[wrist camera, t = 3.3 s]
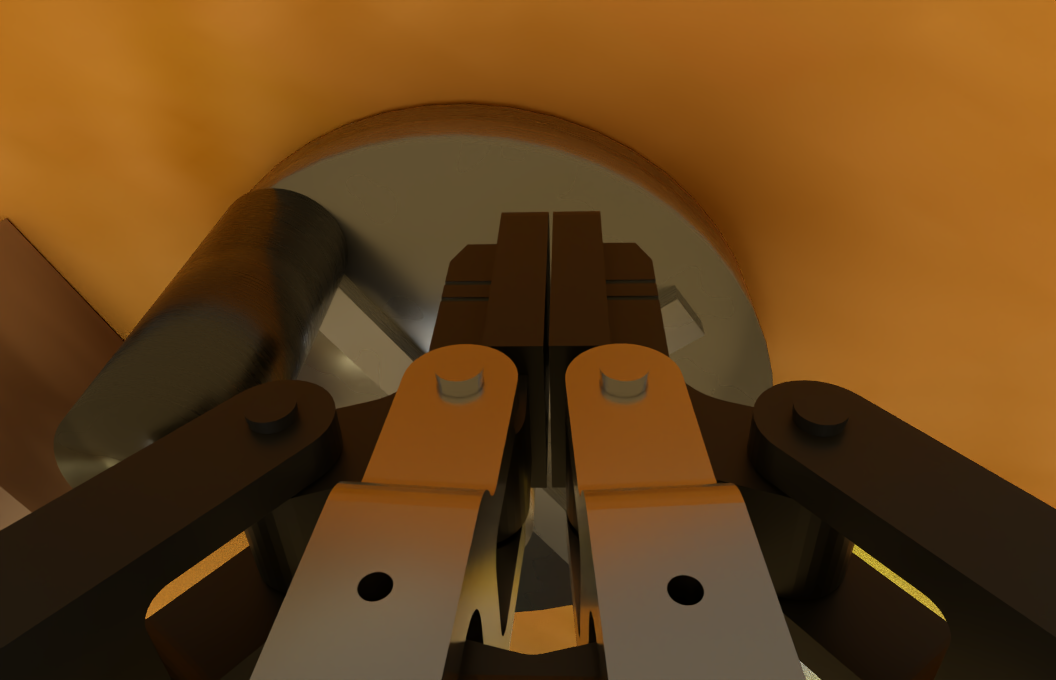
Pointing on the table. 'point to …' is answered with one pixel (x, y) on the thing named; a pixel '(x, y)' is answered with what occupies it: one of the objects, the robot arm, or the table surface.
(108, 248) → the table surface
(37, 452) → the block
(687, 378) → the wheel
